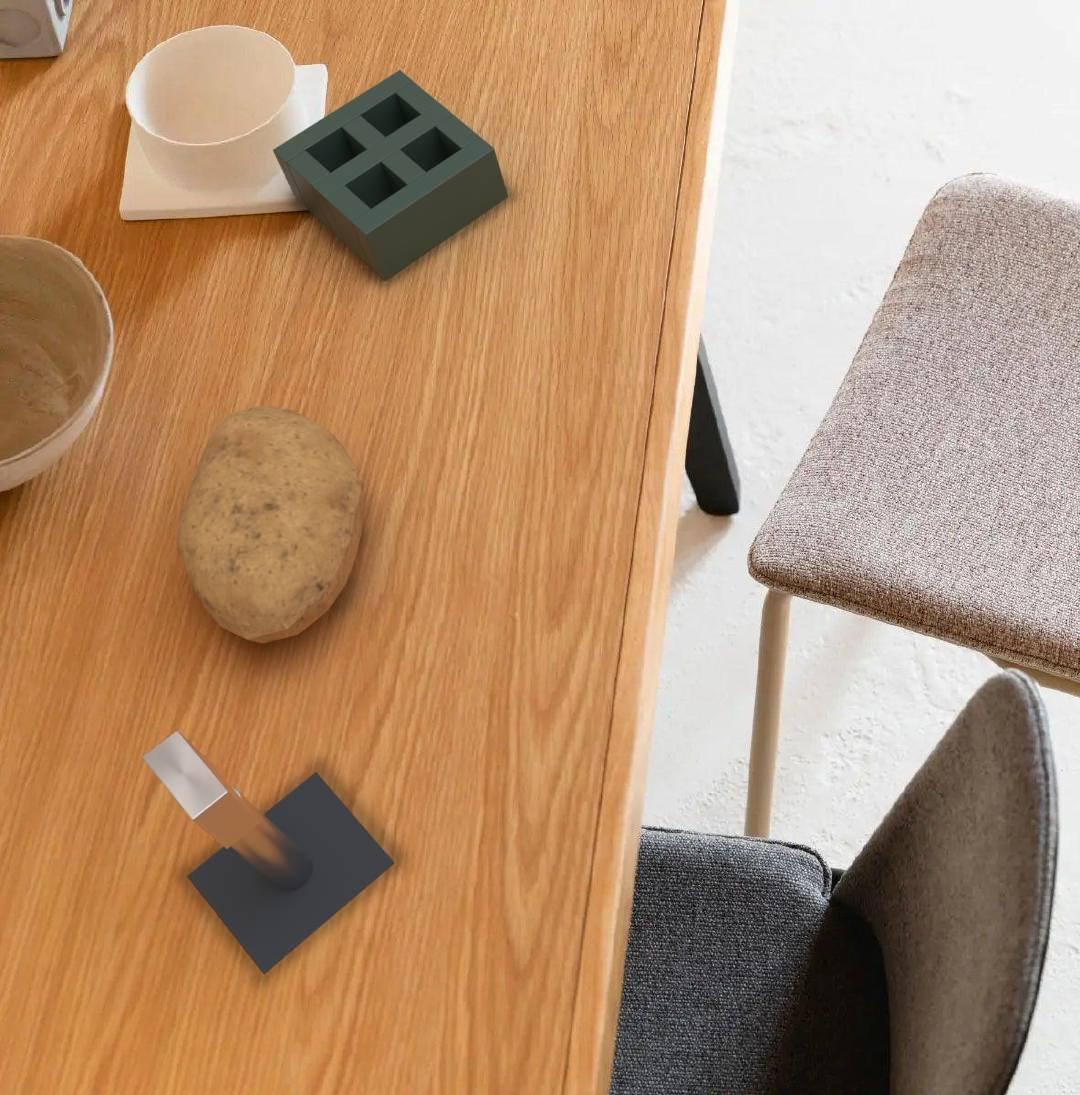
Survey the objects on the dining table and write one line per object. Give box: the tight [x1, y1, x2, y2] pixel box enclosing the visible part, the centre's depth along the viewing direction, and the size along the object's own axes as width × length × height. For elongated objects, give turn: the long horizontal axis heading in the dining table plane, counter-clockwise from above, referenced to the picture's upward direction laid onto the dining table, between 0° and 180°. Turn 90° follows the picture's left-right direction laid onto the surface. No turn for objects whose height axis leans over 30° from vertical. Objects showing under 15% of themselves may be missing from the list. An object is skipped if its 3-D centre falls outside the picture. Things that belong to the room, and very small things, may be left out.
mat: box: [187, 771, 395, 975], centre depth 75 cm, size 7×8×1 cm
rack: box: [272, 69, 509, 282], centre depth 95 cm, size 10×10×5 cm
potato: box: [176, 404, 366, 644], centre depth 81 cm, size 10×14×8 cm
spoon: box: [141, 730, 312, 890], centre depth 69 cm, size 4×2×14 cm, turn 45°
